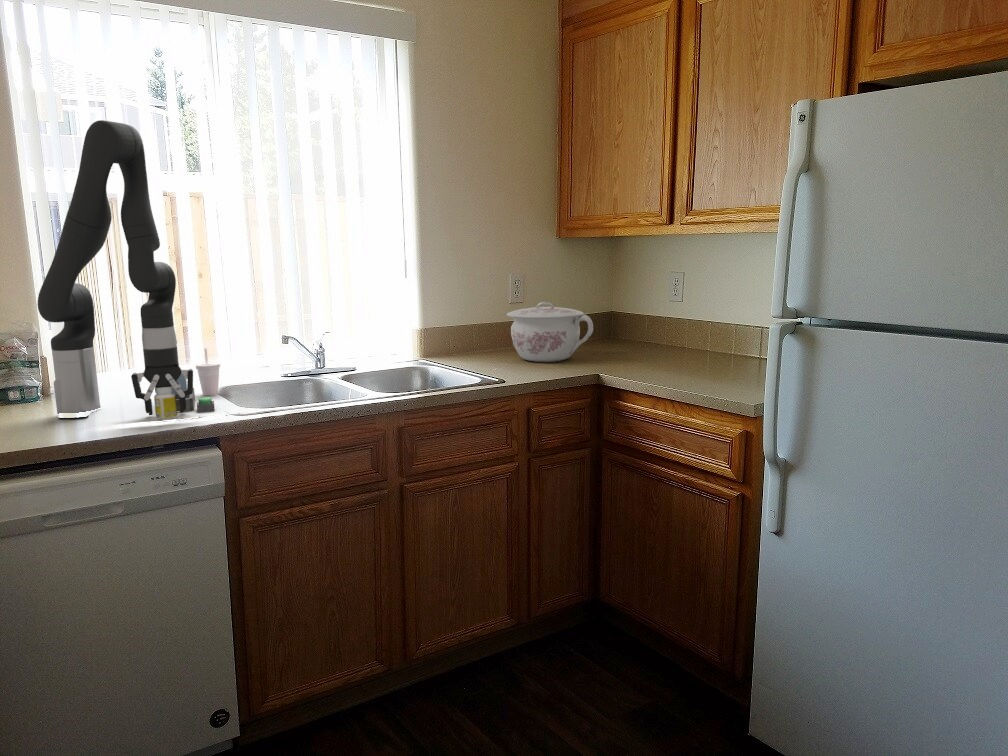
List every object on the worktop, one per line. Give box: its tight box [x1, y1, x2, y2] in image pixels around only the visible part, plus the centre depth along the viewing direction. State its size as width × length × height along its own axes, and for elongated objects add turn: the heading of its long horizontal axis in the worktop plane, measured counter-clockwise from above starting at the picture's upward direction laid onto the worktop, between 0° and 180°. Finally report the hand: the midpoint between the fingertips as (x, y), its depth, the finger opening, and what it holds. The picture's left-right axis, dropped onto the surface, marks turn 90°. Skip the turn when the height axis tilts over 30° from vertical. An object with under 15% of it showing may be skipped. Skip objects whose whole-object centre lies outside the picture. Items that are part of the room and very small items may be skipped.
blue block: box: [172, 374, 188, 394], centre depth 200 cm, size 5×5×8 cm
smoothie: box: [195, 347, 221, 396], centre depth 211 cm, size 6×6×14 cm
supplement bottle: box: [153, 386, 178, 419], centre depth 186 cm, size 5×5×8 cm
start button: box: [197, 396, 213, 405], centre depth 191 cm, size 3×3×4 cm
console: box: [196, 400, 216, 413], centre depth 191 cm, size 4×4×3 cm
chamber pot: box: [506, 301, 594, 363], centre depth 269 cm, size 28×28×21 cm
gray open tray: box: [175, 387, 196, 413], centre depth 197 cm, size 8×17×4 cm, turn 21°
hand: (166, 413), depth 186 cm, fingers open, 6 cm apart
